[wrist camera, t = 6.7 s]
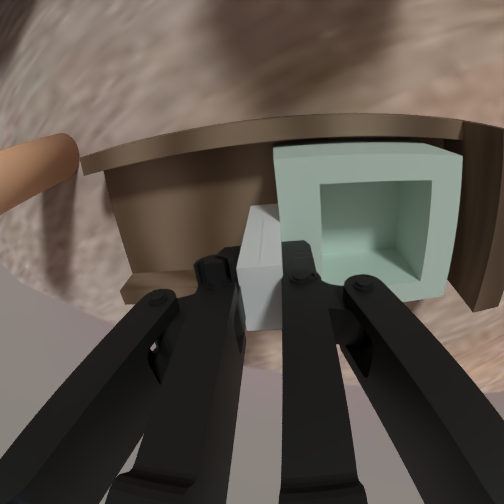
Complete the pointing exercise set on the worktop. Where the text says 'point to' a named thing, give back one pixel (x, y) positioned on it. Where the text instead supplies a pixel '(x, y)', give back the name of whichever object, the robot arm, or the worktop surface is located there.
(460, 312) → the worktop surface
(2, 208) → the dowel
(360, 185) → the socket block
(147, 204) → the brown long open box
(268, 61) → the worktop surface
